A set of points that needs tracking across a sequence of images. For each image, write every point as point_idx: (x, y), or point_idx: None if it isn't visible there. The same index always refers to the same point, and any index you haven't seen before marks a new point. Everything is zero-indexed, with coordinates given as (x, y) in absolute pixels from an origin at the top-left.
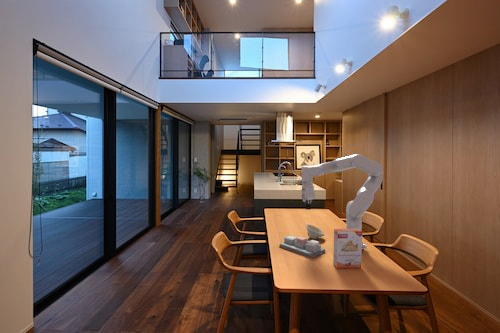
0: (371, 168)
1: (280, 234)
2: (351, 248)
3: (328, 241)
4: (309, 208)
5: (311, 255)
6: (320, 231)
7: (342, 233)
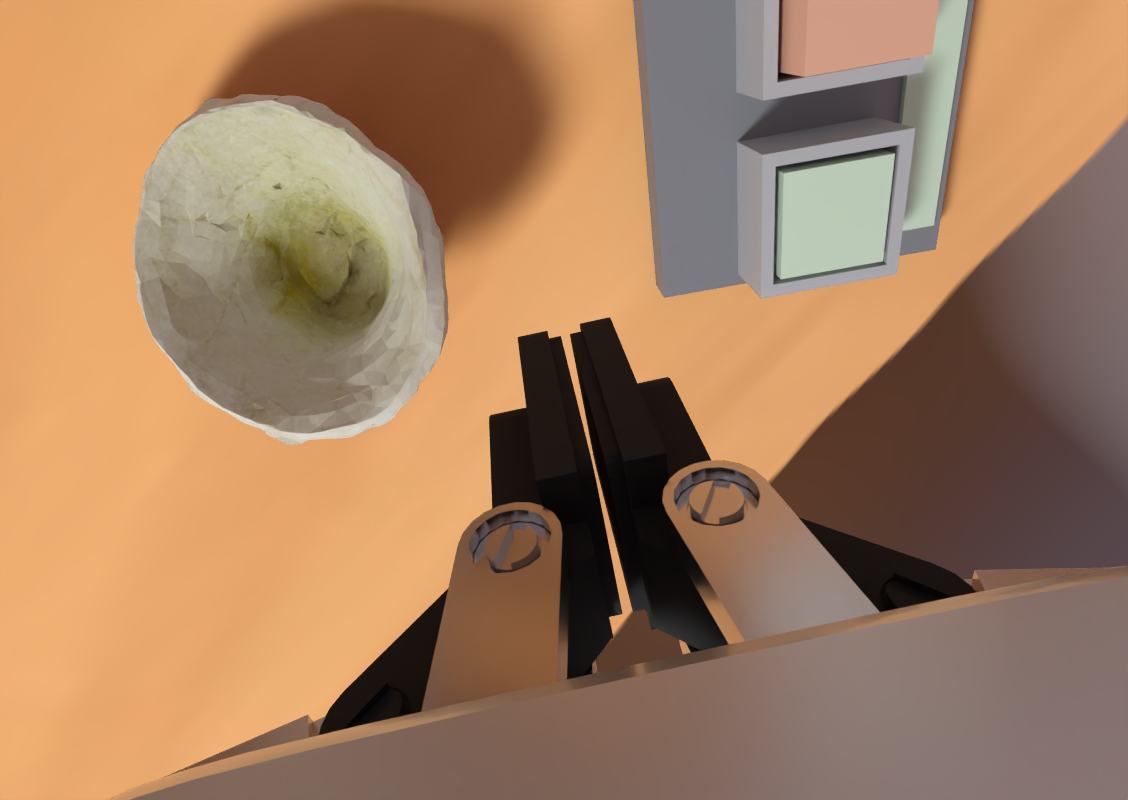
0: None
1: None
2: None
3: (193, 16)
4: (614, 336)
5: None
6: (162, 267)
7: None
